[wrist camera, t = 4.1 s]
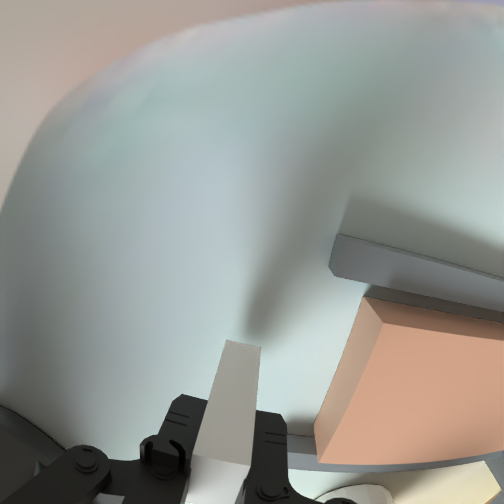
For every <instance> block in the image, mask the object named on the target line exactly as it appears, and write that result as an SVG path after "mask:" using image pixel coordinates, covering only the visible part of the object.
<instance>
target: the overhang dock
mask: <svg viewBox="0 0 504 504" xmlns="http://www.w3.org/2000/svg"><path fill="white" fill-rule="evenodd" d="M328 267H329V268H330V270H331V271H332V273H333V274H334V276H336V277H341V278H345V279H350V280H354V281H359V282H364V283H368V284H373V285H378V286H382V287H387V288H392V289H396V290H401V291H406V292H410V293H415V294H420V295H424V296H429V297H434V298H438V299H443V300H448V301H453V302H457V303H462V304H467V305H472V306H476V307H481V308H486V309H491V310H495V311H500V312H504V279H503V278H500V277H497V276H493V275H490V274H487V273H483V272H480V271H477V270H473V269H470V268H466V267H463V266H459V265H456V264H452V263H448V262H445V261H441V260H438V259H434V258H430V257H427V256H423V255H419V254H416V253H412V252H408V251H404V250H400V249H397V248H393V247H389V246H385V245H381V244H377V243H373V242H369V241H365V240H361V239H357V238H353V237H349V236H345V235H341V234H337V235H336V239H335V243H334V247H333V251H332V255H331V258H330V262H329V266H328ZM287 453H288V469H298V470H309V471H324V472H351V473H372V472H399V471H413V470H424V469H433V468H442V467H449V466H456V465H462V464H468V463H473V462H478V461H483V460H484V461H485V462H486V464H487V466H488V467H489V469H490V471H491V472H492V474H493V476H494V477H495V479H496V481H497V482H498V484H499V486H500V487H501V489H502V491H501V492H500V493H499V494H498V495H497V496H496V497H495V498H494V499H493V500H492V501H491V502H490V503H489V504H504V450H501V451H497V452H492V453H487V454H482V455H477V456H471V457H465V458H458V459H451V460H442V461H433V462H422V463H409V464H386V465H351V464H328V463H318V456H317V449H316V442H315V437H307V436H298V435H291V434H287Z"/></svg>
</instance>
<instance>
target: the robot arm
mask: <svg viewBox="0 0 504 504" xmlns="http://www.w3.org/2000/svg"><path fill="white" fill-rule="evenodd" d="M260 353H261V347H257V346H252V345H247V344H243V343H238V342H234V341H229V340H226V342H225V346H224V349H223V352H222V356H221V359H220V362H219V366H218V369H217V373H216V376H215V379H214V383H213V386H212V389H211V393H210V396H209V399H208V400H204V399H200V398H196V397H192V396H188V395H184V394H181V395H180V396H179V397H177V398H176V399H175V400H173V401H172V404H171V406H170V408H169V410H168V413H167V415H166V417H165V420H164V421H163V424H162V426H161V428H160V430H159V433H158V435H152V436H150V437H148V438H145V439H144V440H143V441H142V443H141V444H140V459H137V460H133V461H123V460H113V459H108V457H107V455H105V454H104V453H103V452H102V451H101V450H99V449H97V448H95V447H93V446H87V445H80V446H74V447H73V448H71V449H69V450H67V451H64V450H63V449H62V448H61V447H60V446H59V445H58V444H56V443H55V442H54V441H53V440H52V439H50V438H49V437H48V436H47V435H45V434H44V433H43V432H42V431H40V430H39V429H38V428H36V427H35V426H34V425H32V424H31V423H29V422H28V421H26V420H25V419H23V418H22V417H20V416H19V415H17V414H15V413H14V412H12V411H10V410H8V409H6V408H3V407H1V406H0V504H185V502H188V503H192V504H357V503H356V502H354V501H353V500H351V499H347V498H343V497H342V498H332V499H330V500H327V501H326V502H325V503H322V502H319V501H316V500H312V499H309V498H307V497H304V496H302V495H300V494H299V493H298V492H296V491H295V490H294V489H293V488H292V486H291V484H290V482H289V479H288V453H287V424H286V423H285V421H284V419H283V418H282V416H281V414H277V413H271V412H265V411H259V410H256V401H257V390H258V378H259V365H260Z"/></svg>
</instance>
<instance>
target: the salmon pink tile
mask: <svg viewBox="0 0 504 504" xmlns="http://www.w3.org/2000/svg"><path fill="white" fill-rule="evenodd" d="M313 427H314V434H315V442H316V449H317V456H318V463H328V464H351V465H386V464H409V463H422V462H433V461H442V460H451V459H458V458H465V457H471V456H477V455H482V454H487V453H492V452H497V451H501V450H504V323H501V322H495V321H490V320H484V319H479V318H473V317H468V316H462V315H457V314H451V313H446V312H441V311H436V310H430V309H425V308H420V307H415V306H410V305H405V304H400V303H394V302H389V301H384V300H379V299H374V298H370V297H365V296H363V298H362V301H361V304H360V307H359V310H358V313H357V316H356V319H355V322H354V325H353V328H352V330H351V333H350V336H349V339H348V341H347V344H346V347H345V350H344V352H343V355H342V358H341V360H340V363H339V365H338V368H337V370H336V373H335V375H334V378H333V380H332V383H331V385H330V388H329V390H328V392H327V395H326V397H325V399H324V402H323V404H322V406H321V409H320V411H319V413H318V415H317V418H316V420H315V422H314V424H313Z"/></svg>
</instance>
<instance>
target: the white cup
mask: <svg viewBox="0 0 504 504" xmlns="http://www.w3.org/2000/svg"><path fill="white" fill-rule="evenodd" d="M342 497H343V498H347V499H351V500H353V501H354V502H356V503H357V504H394V502H393V499H392V496H391V493H390V491H388V490H387V489H385V488H384V487H383V486H381V485H371V484H361V485H354V486H348V487H343V488H340V489H337V490H334V491H331V492H328V493H326V494H324V495H322V496H321V497H319V498H317V499H316V501H319V502H322V503H325V502H326V501H327V500H330V499H332V498H342Z"/></svg>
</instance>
